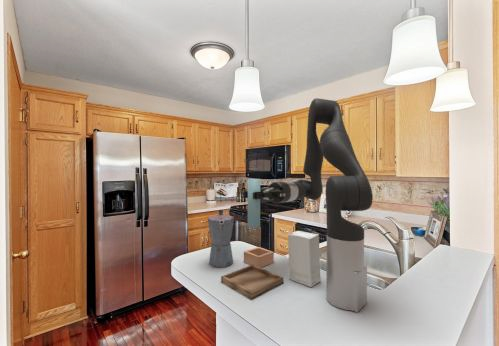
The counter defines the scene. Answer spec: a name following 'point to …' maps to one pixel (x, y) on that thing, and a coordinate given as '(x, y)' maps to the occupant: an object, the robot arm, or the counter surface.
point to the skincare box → (304, 258)
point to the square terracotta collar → (259, 257)
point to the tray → (252, 281)
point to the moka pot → (220, 239)
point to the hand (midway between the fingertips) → (248, 195)
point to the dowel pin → (253, 203)
